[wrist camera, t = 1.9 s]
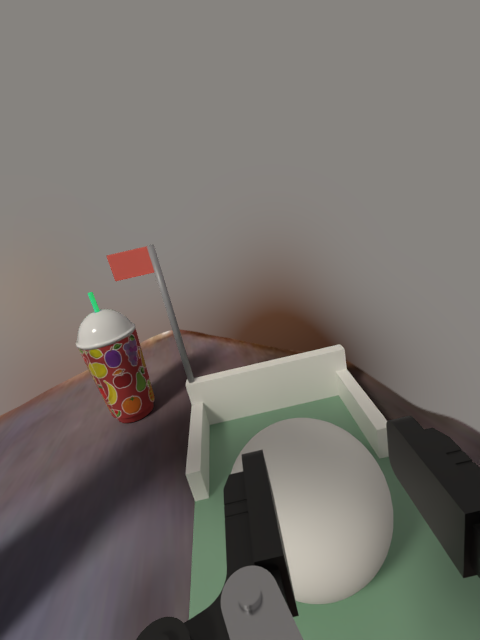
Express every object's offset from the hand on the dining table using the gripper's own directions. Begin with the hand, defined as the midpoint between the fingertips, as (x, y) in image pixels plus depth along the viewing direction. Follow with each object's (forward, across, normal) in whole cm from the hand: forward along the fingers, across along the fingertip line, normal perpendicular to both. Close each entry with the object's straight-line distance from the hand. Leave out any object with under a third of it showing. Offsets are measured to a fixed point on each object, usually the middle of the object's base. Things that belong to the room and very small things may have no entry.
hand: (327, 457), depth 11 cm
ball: (+10, 0, +14) cm, 17 cm away
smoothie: (+38, +21, +20) cm, 48 cm away
